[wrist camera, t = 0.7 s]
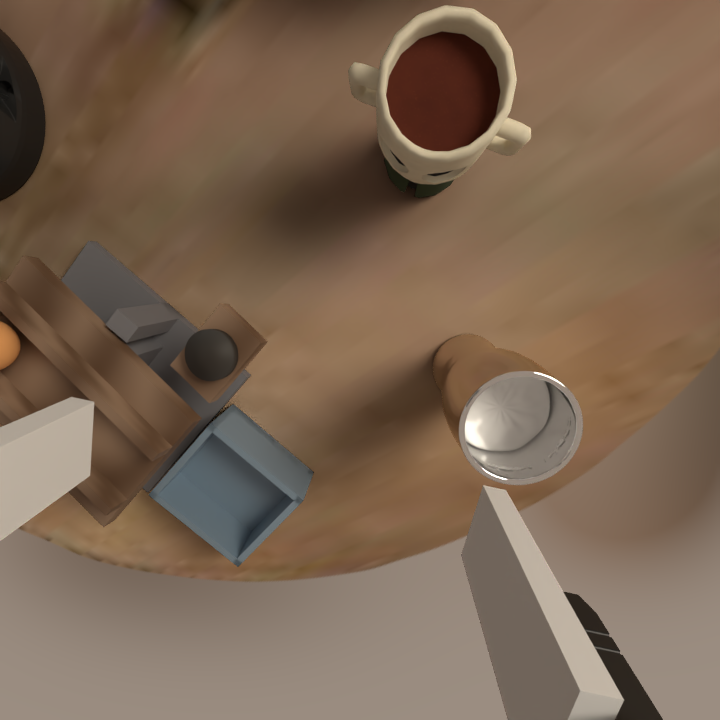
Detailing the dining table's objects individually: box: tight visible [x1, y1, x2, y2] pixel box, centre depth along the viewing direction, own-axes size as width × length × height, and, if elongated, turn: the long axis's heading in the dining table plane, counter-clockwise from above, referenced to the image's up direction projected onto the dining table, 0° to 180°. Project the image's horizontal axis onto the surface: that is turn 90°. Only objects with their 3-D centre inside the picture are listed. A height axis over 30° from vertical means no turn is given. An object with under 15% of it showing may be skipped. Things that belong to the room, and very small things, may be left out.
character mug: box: [348, 5, 531, 198], centre depth 27 cm, size 11×7×13 cm, turn 70°
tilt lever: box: [0, 256, 268, 527], centre depth 31 cm, size 18×20×6 cm
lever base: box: [61, 241, 251, 492], centre depth 35 cm, size 18×16×7 cm
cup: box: [149, 404, 314, 567], centre depth 37 cm, size 10×9×5 cm
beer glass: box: [433, 334, 583, 485], centre depth 29 cm, size 7×7×15 cm
